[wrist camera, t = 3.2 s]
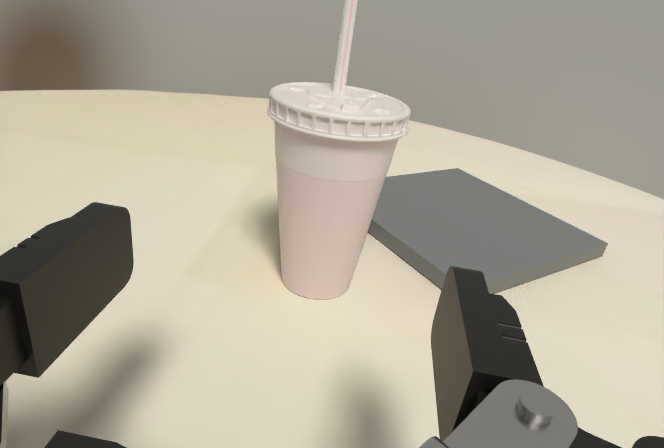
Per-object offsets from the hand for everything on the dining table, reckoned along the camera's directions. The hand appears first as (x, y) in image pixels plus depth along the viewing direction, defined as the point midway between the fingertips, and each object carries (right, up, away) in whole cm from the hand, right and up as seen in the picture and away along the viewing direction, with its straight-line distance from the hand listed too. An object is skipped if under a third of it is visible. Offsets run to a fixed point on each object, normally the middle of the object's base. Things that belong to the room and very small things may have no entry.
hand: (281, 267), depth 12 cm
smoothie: (0, -2, +14) cm, 14 cm away
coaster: (+10, +1, +22) cm, 24 cm away
